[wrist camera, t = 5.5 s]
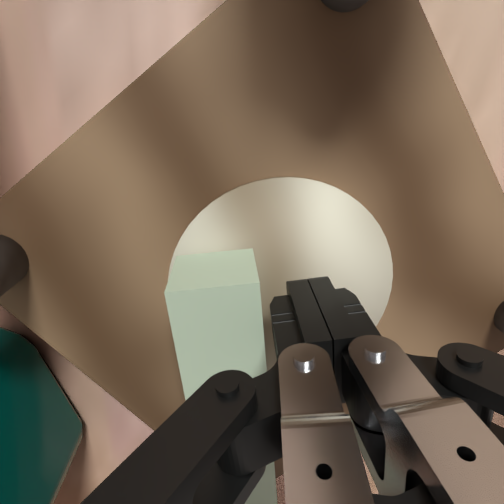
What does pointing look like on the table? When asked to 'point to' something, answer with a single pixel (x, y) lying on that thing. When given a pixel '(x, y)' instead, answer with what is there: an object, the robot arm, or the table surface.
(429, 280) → the board
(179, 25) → the table surface
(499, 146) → the table surface
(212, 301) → the block
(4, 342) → the teal plastic bottle
